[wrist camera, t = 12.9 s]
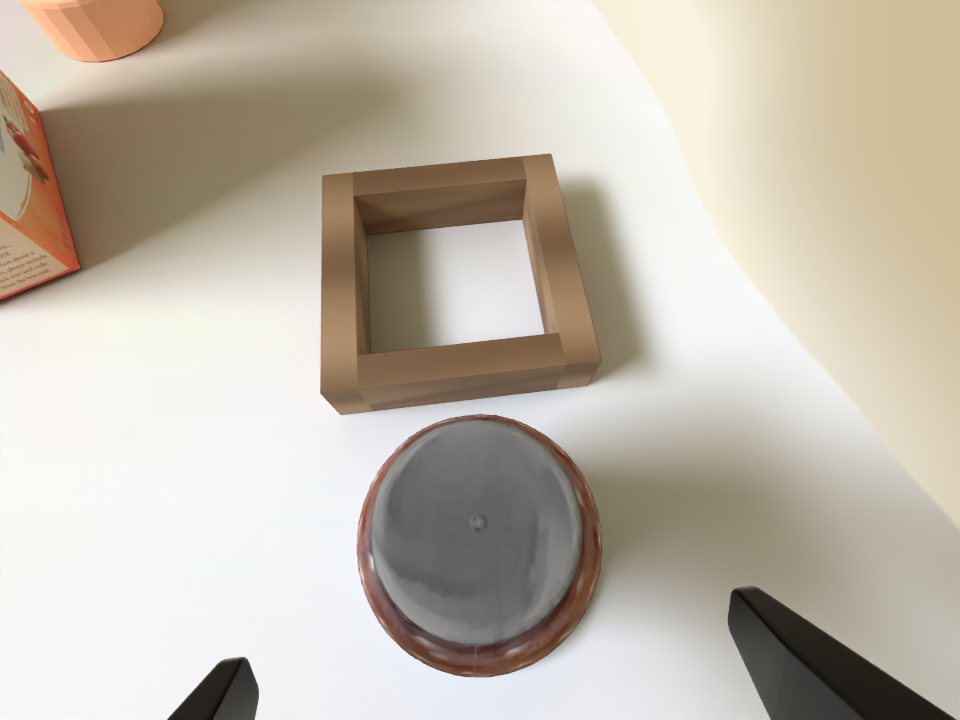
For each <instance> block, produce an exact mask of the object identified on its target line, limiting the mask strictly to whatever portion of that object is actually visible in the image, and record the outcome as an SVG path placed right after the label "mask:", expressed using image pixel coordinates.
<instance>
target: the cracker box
mask: <svg viewBox="0 0 960 720" xmlns="http://www.w3.org/2000/svg"><path fill="white" fill-rule="evenodd" d="M78 269H80V264H79V262H78V258H77V255H76V251H75V249H74V244H73V240H72V237H71V232H70V229H69V225H68V222H67V219H66V214H65V211H64V207H63V203H62V199H61V196H60V192H59V188H58V184H57V180H56V177H55V173H54V169H53V165H52V162H51V158H50V154H49V150H48V146H47V142H46V139H45V135H44V131H43V127H42V123H41V119H40V116H39V112H38V110H37V108H36V107H35V106H34V105H33V104H32V103H31V102H30V101H29V100H28V98H27V97H26V96H25V95H24V94H23V93H22V92H21V91H20V90H19V89H18V88H17V87H16V86H15V85H14V84H13V83H12V82H11V81H10V80H9V78H8V77H7V76H6V75H5V74H4V73H3V72H2V71H1V70H0V300H1V299H3V298H6V297H9V296H11V295H14V294H16V293H19V292H21V291H24V290H26V289H29V288H31V287H34V286H36V285H39V284H41V283H44V282H47V281H49V280H52V279H54V278H57V277H59V276H62V275H64V274H67V273H70V272H72V271H75V270H78Z"/></svg>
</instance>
